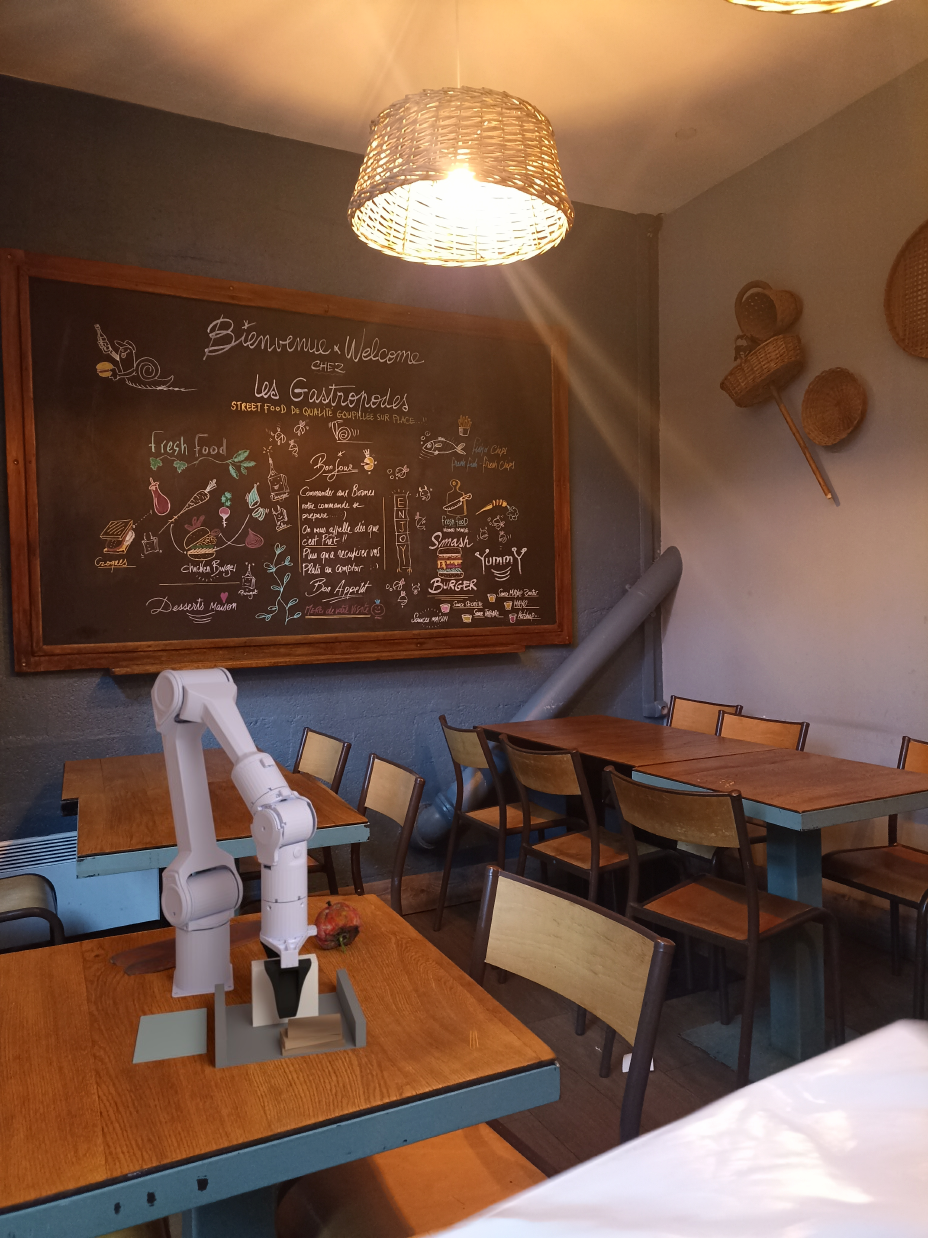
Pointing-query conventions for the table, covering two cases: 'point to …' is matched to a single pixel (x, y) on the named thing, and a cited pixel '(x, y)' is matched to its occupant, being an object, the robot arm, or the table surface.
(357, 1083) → the table surface
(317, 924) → the rotten apple
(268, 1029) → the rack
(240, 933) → the wooden tablet
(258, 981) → the white rectangular block
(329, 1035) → the offcut stack
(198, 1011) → the mat
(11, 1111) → the table surface
